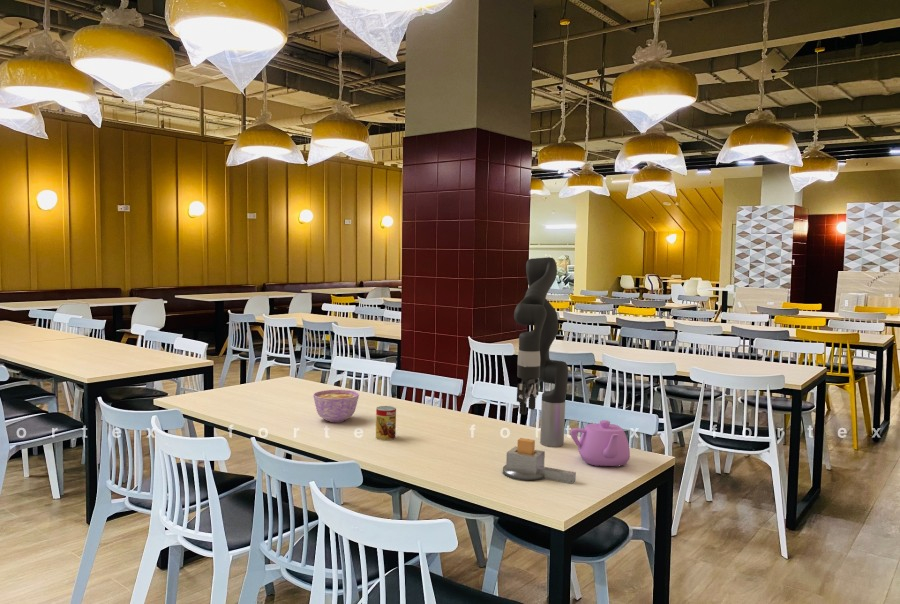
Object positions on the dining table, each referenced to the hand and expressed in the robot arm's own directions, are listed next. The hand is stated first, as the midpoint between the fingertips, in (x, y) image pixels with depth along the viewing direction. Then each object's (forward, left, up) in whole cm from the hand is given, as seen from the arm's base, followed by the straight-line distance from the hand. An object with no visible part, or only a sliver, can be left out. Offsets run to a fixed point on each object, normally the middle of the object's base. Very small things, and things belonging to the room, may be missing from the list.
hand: (527, 411), depth 216 cm
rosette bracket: (0, +5, -21) cm, 22 cm away
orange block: (0, 0, -20) cm, 20 cm away
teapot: (-27, +20, -22) cm, 40 cm away
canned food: (-12, -64, -21) cm, 69 cm away
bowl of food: (-24, -98, -21) cm, 103 cm away
